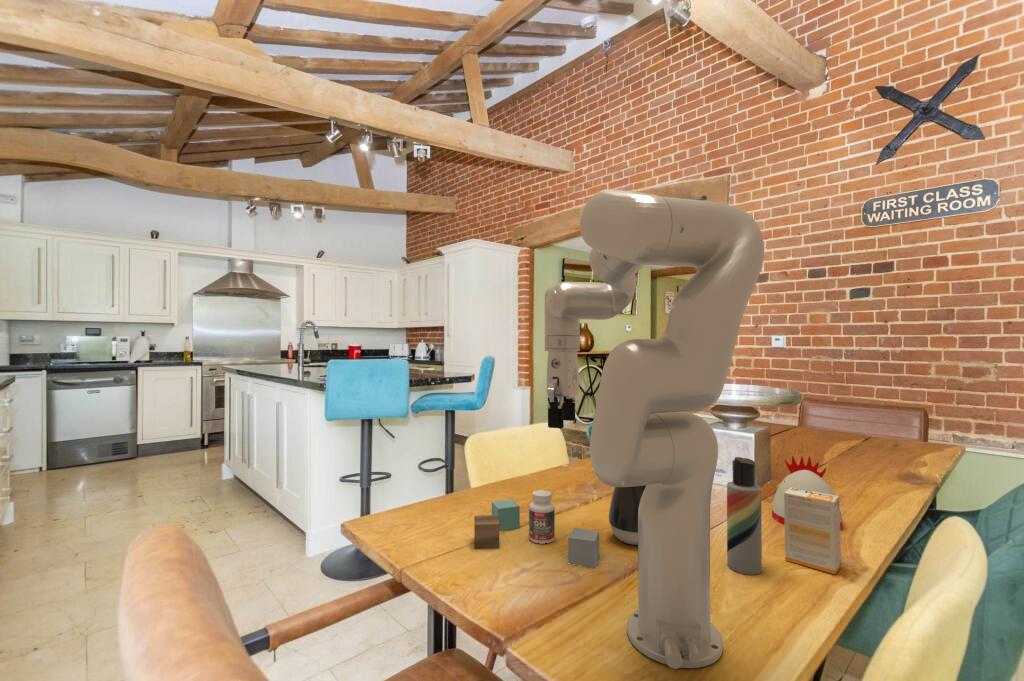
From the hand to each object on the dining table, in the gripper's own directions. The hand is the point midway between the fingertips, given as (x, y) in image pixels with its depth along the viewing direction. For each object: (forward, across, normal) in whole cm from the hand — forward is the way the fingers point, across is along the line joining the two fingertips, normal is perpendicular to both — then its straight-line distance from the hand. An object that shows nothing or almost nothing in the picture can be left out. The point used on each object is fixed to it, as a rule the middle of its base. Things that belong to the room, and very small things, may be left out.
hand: (562, 423), depth 102 cm
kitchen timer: (+24, +28, -50) cm, 63 cm away
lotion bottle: (+24, -2, -35) cm, 43 cm away
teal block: (+24, 0, +13) cm, 27 cm away
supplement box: (+24, +4, -47) cm, 53 cm away
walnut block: (+24, -10, +13) cm, 29 cm away
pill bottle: (+24, -4, +3) cm, 25 cm away
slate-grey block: (+24, -10, -7) cm, 27 cm away
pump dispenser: (+24, +3, -15) cm, 28 cm away
